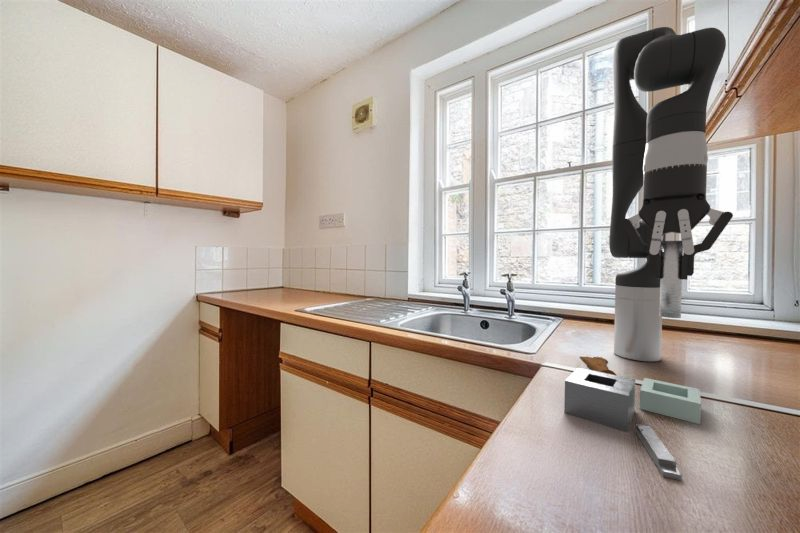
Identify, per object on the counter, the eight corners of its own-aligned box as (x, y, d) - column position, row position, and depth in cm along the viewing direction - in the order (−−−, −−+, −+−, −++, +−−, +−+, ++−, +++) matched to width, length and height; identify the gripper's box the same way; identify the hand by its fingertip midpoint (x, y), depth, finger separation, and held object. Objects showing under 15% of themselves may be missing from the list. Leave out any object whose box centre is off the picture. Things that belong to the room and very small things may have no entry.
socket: (577, 395, 55) (578, 367, 55) (634, 411, 49) (635, 379, 49) (564, 412, 49) (564, 380, 49) (627, 431, 43) (628, 395, 43)
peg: (659, 314, 52) (661, 241, 52) (680, 316, 50) (683, 240, 50) (658, 316, 50) (660, 241, 50) (680, 318, 48) (682, 240, 48)
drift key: (635, 432, 43) (636, 424, 43) (650, 435, 43) (650, 426, 43) (663, 476, 34) (663, 465, 34) (681, 480, 34) (681, 469, 34)
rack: (643, 394, 55) (644, 377, 55) (698, 407, 51) (699, 389, 50) (639, 408, 50) (640, 390, 50) (700, 424, 45) (701, 403, 45)
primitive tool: (578, 358, 77) (579, 344, 77) (604, 361, 75) (605, 346, 75) (596, 388, 59) (597, 370, 59) (631, 393, 57) (632, 374, 57)
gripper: (736, 165, 47) (732, 279, 48) (623, 180, 57) (621, 275, 57) (742, 153, 42) (737, 282, 43) (616, 172, 51) (613, 278, 52)
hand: (670, 278), depth 50 cm, fingers closed on peg, 2 cm apart
